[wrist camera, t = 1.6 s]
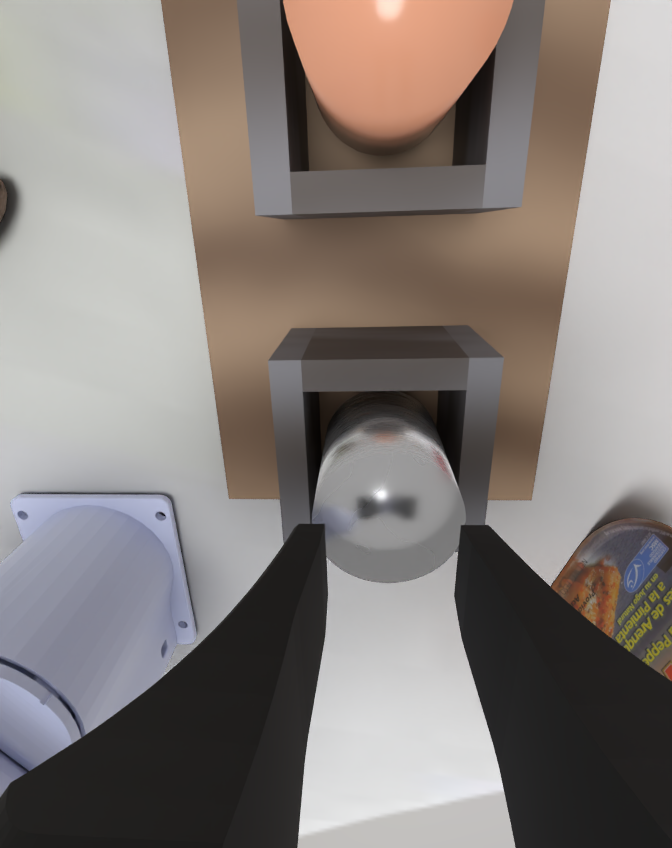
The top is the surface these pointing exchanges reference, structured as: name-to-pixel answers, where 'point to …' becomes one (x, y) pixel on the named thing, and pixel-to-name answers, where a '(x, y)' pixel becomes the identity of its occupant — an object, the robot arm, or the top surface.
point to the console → (381, 246)
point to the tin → (626, 587)
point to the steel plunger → (387, 490)
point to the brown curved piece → (2, 199)
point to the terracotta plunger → (391, 63)
